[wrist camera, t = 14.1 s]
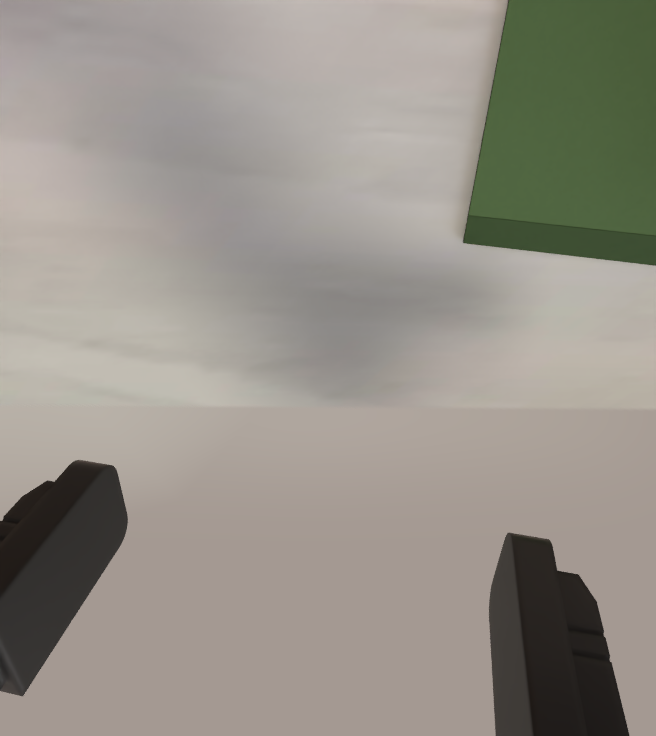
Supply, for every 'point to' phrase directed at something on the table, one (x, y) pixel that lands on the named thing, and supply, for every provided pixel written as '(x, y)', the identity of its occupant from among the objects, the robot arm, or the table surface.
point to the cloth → (571, 133)
